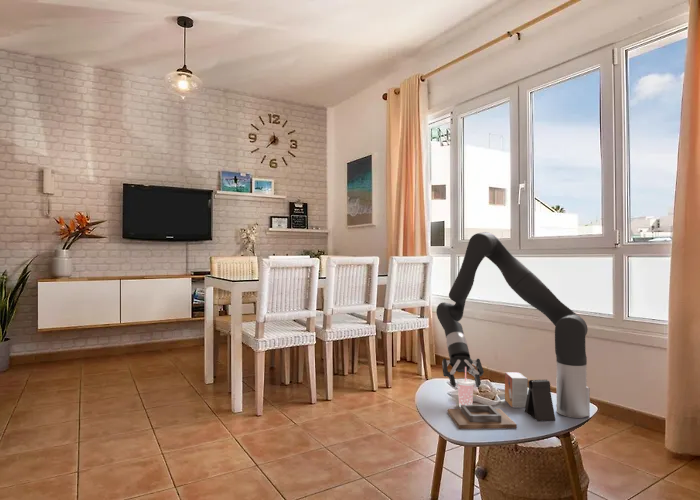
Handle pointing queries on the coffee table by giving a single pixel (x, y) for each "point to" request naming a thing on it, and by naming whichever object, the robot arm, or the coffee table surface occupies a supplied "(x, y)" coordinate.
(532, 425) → the coffee table surface
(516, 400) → the small box
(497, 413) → the walnut socket plate
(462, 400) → the beverage cup
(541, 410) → the black tent sign
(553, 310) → the robot arm
